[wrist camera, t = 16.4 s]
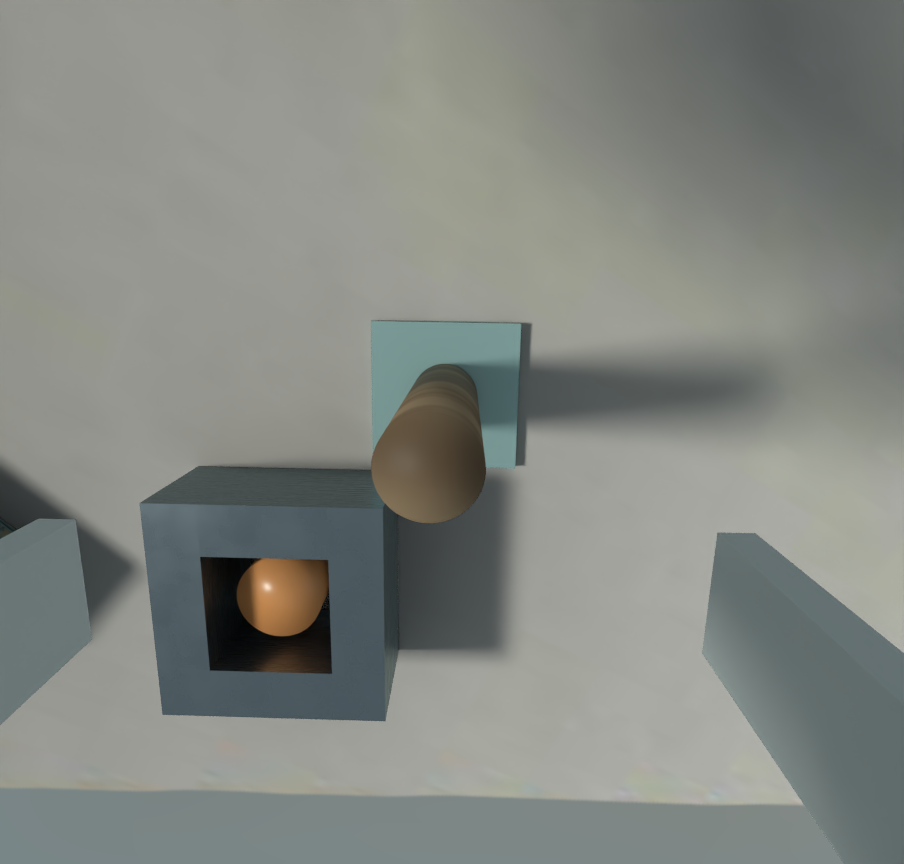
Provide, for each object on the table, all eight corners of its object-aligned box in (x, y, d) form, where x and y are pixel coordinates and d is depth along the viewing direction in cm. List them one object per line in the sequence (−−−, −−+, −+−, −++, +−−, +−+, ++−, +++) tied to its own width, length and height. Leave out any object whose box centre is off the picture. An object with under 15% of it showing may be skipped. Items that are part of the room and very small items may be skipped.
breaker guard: (198, 466, 38) (139, 503, 31) (397, 470, 38) (382, 508, 31) (213, 645, 41) (162, 714, 34) (398, 650, 41) (385, 721, 34)
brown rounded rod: (412, 363, 36) (370, 411, 20) (478, 364, 36) (487, 414, 20) (412, 427, 36) (372, 522, 21) (476, 428, 36) (484, 524, 21)
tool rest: (372, 320, 36) (370, 321, 35) (520, 323, 35) (521, 323, 35) (374, 462, 38) (373, 465, 37) (514, 465, 38) (515, 468, 37)
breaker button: (262, 525, 39) (233, 557, 34) (337, 527, 39) (319, 560, 34) (267, 594, 40) (239, 635, 35) (339, 596, 40) (322, 637, 35)
